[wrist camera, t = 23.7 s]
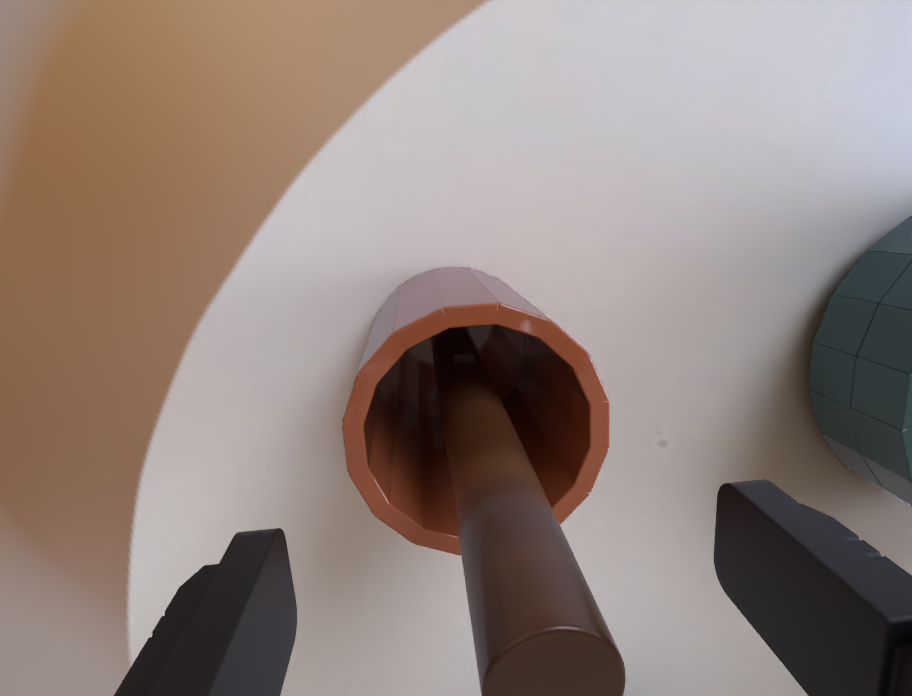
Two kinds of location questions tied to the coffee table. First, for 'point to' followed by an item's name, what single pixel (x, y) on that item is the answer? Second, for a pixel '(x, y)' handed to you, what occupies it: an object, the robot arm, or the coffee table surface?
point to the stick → (515, 549)
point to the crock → (418, 409)
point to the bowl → (869, 366)
